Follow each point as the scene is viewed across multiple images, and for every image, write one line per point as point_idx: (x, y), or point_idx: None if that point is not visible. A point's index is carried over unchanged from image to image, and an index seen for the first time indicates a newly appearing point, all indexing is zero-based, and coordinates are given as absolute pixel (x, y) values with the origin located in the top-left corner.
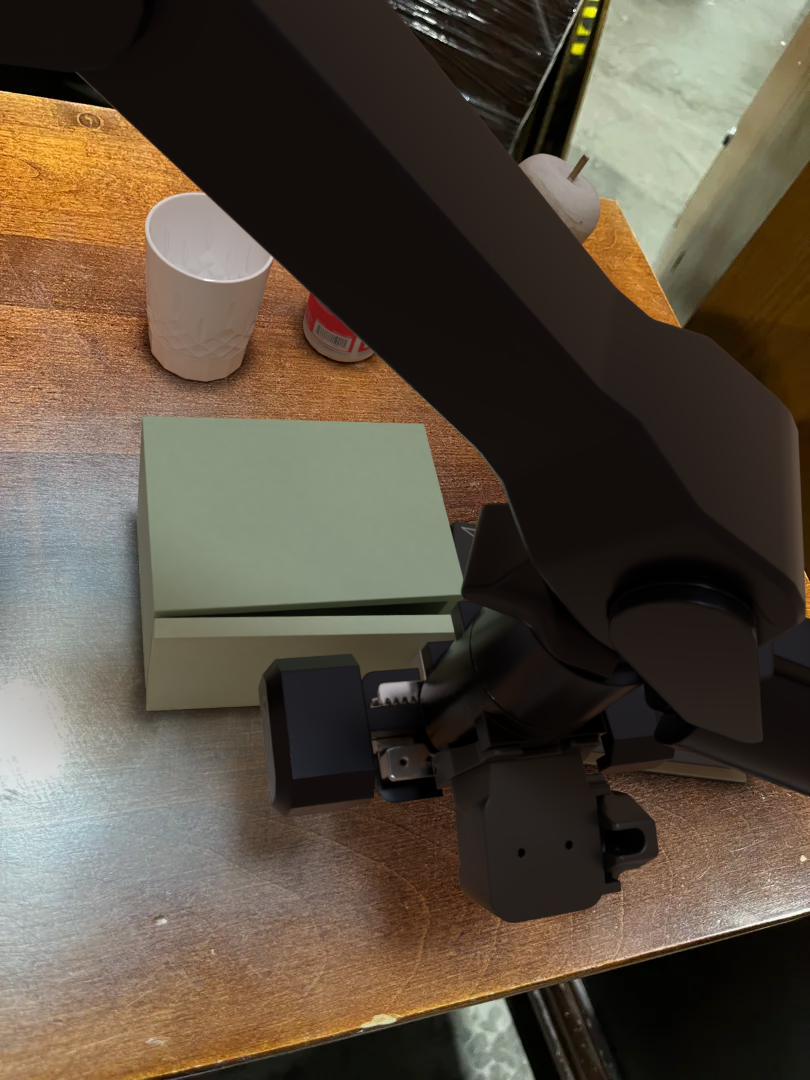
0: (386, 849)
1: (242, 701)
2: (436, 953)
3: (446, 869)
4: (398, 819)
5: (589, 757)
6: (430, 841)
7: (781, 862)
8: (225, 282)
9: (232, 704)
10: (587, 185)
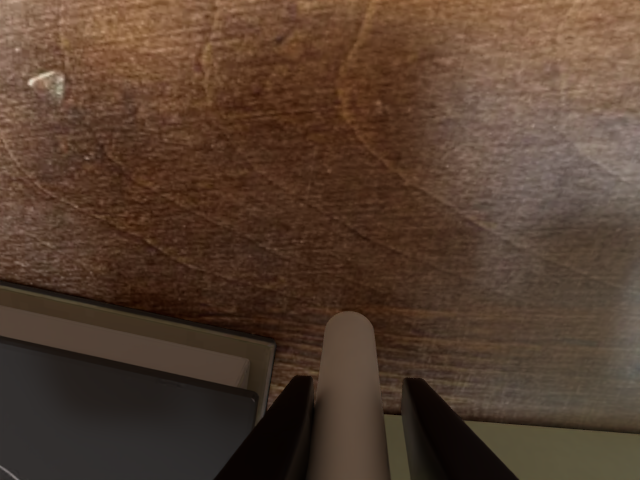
0: (395, 204)
1: (599, 451)
2: (336, 8)
3: (293, 158)
4: (364, 247)
5: (24, 300)
6: (314, 207)
7: None
8: None
9: (605, 441)
10: None
